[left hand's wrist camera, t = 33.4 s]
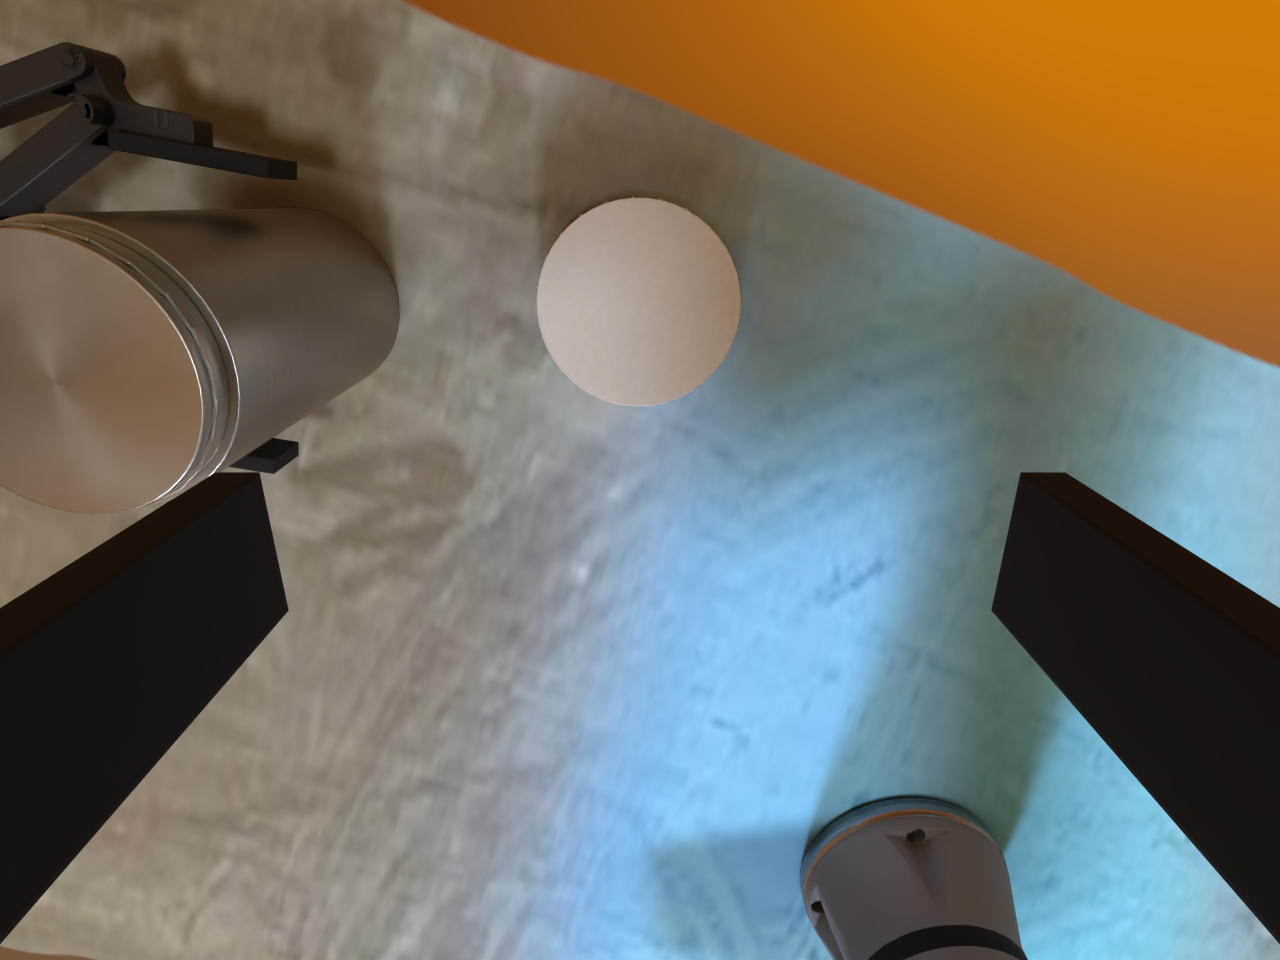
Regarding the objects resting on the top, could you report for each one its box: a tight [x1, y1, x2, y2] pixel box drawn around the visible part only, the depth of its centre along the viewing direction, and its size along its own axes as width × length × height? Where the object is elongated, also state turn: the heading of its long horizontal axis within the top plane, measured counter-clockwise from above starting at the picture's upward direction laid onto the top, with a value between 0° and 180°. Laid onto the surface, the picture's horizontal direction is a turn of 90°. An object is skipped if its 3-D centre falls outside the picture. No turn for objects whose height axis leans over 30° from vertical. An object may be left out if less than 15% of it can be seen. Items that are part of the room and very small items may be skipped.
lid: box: [537, 196, 741, 406], centre depth 38 cm, size 11×11×2 cm
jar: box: [0, 208, 399, 514], centre depth 30 cm, size 10×10×18 cm
